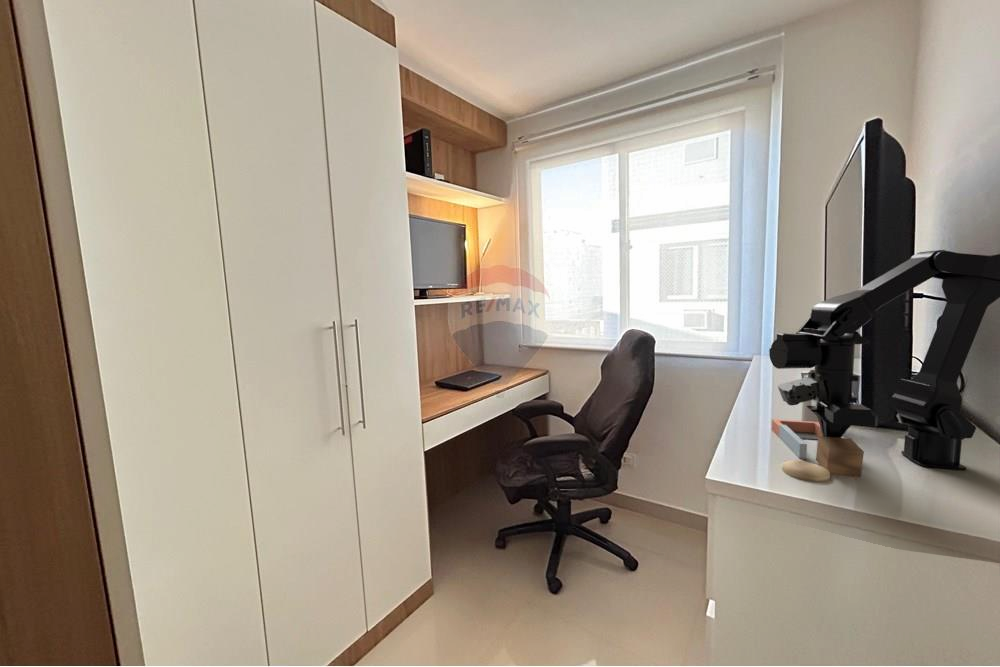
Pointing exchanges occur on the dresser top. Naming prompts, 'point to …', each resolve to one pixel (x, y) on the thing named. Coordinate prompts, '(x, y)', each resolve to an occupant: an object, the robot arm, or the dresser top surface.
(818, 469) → the cork coaster
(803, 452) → the channel
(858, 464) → the walnut block
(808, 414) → the beverage can
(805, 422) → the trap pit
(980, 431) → the dresser top surface
